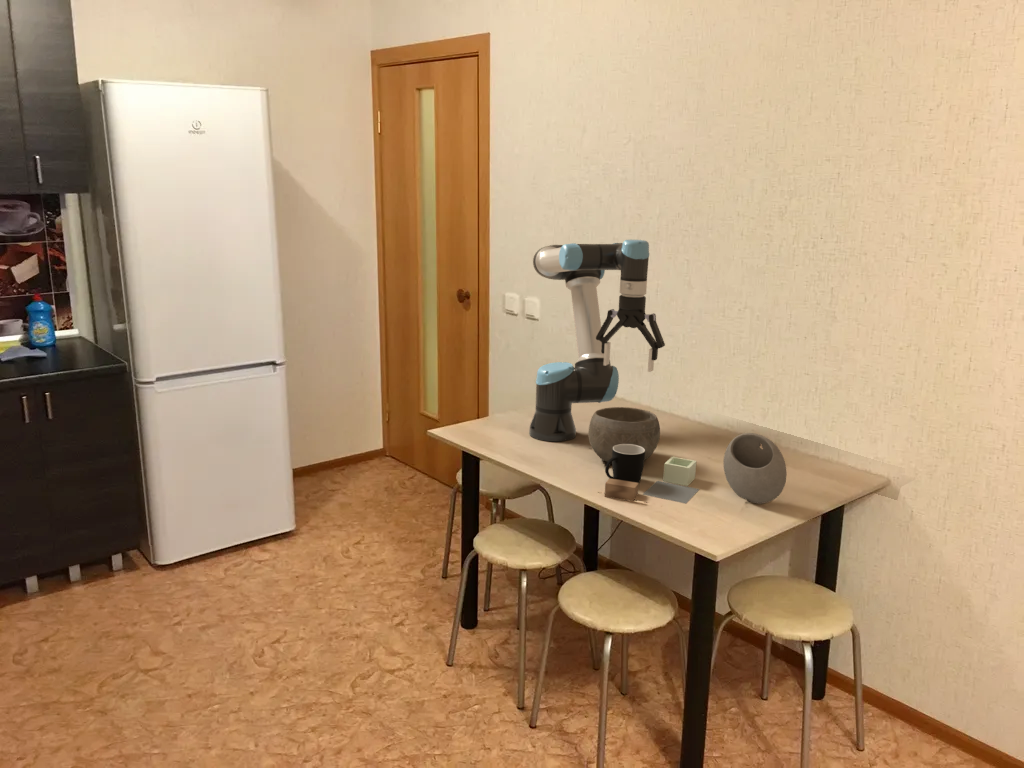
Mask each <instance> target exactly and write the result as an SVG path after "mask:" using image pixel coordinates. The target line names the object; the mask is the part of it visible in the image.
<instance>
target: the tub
mask: <svg viewBox="0 0 1024 768" xmlns="http://www.w3.org/2000/svg"><path fill="white" fill-rule="evenodd" d="M696 470H697V460H694V459H687V458H682V457H679V456H678V457H677V456H671V457H669V459H667V461H665V463H664V464H663V475H662V476H663V478H662V482H667V483H671V484H676V485H681V486H686V487H689V485H690V484H691V483H692V482H693V481H694V480H695V479H696Z"/></svg>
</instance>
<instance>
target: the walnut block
mask: <svg viewBox="0 0 1024 768" xmlns="http://www.w3.org/2000/svg"><path fill="white" fill-rule="evenodd" d="M639 484H640V482H639V483H636V482H629V481H623V480H617V479H611V478H609V477H608V479H607V481H605V485H604V497H605V498H611V499H618V500H624V501H628V502H629V501H630V502H636V497H637V496H638V495H639Z"/></svg>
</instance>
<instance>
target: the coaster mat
mask: <svg viewBox="0 0 1024 768" xmlns="http://www.w3.org/2000/svg"><path fill="white" fill-rule="evenodd" d="M699 490H700V489H699V488H696V487H690V486H684V485H679V484H674V483H669V482H664V481H663V480H661V481H660V480H656V481H655V482H654V483H653V484H652V485H651V486H650V487H649V488H648V489H646V491H644V492H643V493H642V495H644V496H648V497H652V498H653V497H654V498H656V499H657V498H658V499H663V500H667V501H672V502H677V503H680V504H688V502H689V501H691V499H692V498H694V496H695V495H696V493H698V492H699Z"/></svg>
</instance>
